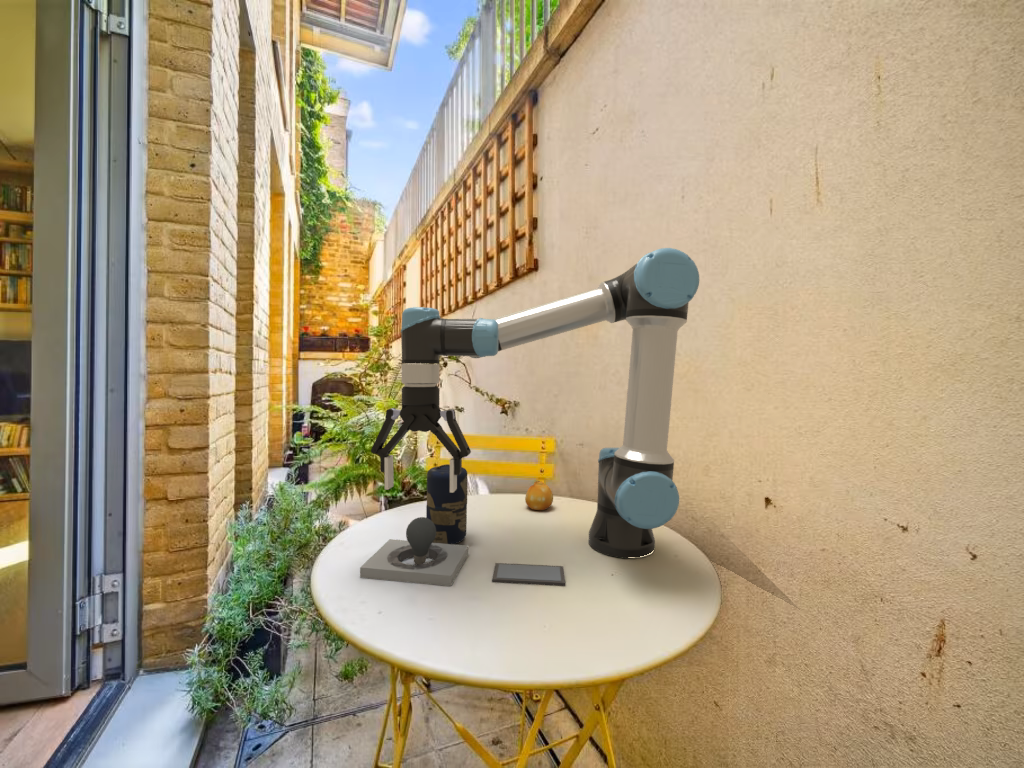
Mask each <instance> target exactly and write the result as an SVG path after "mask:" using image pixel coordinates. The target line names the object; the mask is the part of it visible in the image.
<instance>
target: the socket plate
mask: <svg viewBox="0 0 1024 768" xmlns="http://www.w3.org/2000/svg"><path fill="white" fill-rule="evenodd" d="M468 556H469V545H464V544H442V543H432V544H431V545H430V547H429V549H428V553H427V554H426V558H429V559H432V560H431V561H429V562H427V563H426V562H425V563H424V564H419V565H416V564H409V563H404V561H405V560H408V559H412V558H413V559H414V554H413V553H412V548H411V545H410V544H409V542H408V541H407V539H406V540H404V539H392V538H391V539H388V540H387V541H386V542H385V543H384V544H383V545H382V546H381V547H380V548H379V549H378V550H377V551H375V552H374V554H372V556H370V557H369V558H368V559H367V560H366V561H365V562H364V563H363V564H362V565H361V566H360V567H359V578H360V579H371V580H383V581H391V582H393V581H394V582H403V583H411V584H412V583H414V584H424V585H435V586H445V587H452V585H453V584H454V581H455V580H456V578H457V577H458V574H459V572H460V571H461V568H462V567H463V565H464V563H465V561H466V559H467V558H468Z"/></svg>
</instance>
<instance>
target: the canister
mask: <svg viewBox="0 0 1024 768" xmlns="http://www.w3.org/2000/svg"><path fill="white" fill-rule="evenodd" d="M425 507H426V509H425V510H426V512H425V513H426V515H425V516H426V517H425V518H428V519H430V520H431V521H432V522H433V523H434V525H435V527H436V537H435V539H434V541H433V542H432V543H442V544H454V545H456V544H458V543H460V542H462V541H463V540H464V539H466V536H467V529H468V528H467V526H468V525H467V524H468V523H467V520H468V519H467V516H468V515H467V513H468V471H467V469H466V468H465V467H463V466H462V471H461V474H460V475H457V489H456V490H455V491H454V493H451V492H450V463H449V464H447V463H446V464H441V465H438V466H434V467H431V468H430V469H428V471H427V473H426V506H425Z"/></svg>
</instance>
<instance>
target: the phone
mask: <svg viewBox="0 0 1024 768" xmlns="http://www.w3.org/2000/svg"><path fill="white" fill-rule="evenodd" d="M492 574H493V575H492V579H491V583H495V584H497V583H498V584H499V583H500V584H512V585H513V584H516V585H534V586H535V585H537V586H550V587H551V586H554V587H566V576H565V569H564V566H563V565H550V564H549V565H547V564H529V563H527V564H525V563H507V562H504V563H503V562H495V565H494V568H493V573H492Z"/></svg>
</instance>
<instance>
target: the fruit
mask: <svg viewBox="0 0 1024 768" xmlns="http://www.w3.org/2000/svg"><path fill="white" fill-rule="evenodd" d="M524 498H525V504H526V506H527V507H529V508H530V509H531V510H535V511H544V510H548V509H549V508H550V507H551V506H552V504H553V502H554V494H553V491H552V490H551V488H550V486H549V485H547V484H546V483H544V482H543V481H540V480H537V481H536V480H535V481H534V483H533V485H530V487H528V489H527V491H526V494H525V497H524Z"/></svg>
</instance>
